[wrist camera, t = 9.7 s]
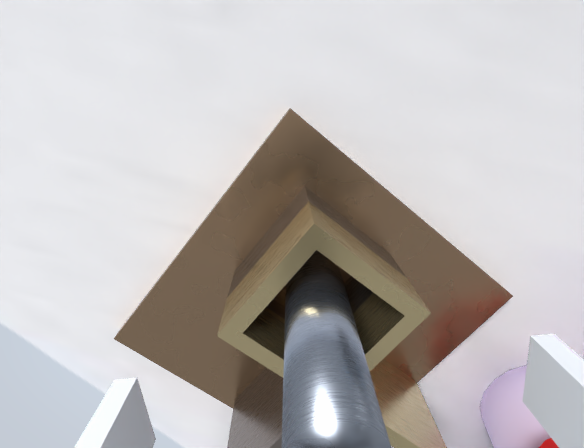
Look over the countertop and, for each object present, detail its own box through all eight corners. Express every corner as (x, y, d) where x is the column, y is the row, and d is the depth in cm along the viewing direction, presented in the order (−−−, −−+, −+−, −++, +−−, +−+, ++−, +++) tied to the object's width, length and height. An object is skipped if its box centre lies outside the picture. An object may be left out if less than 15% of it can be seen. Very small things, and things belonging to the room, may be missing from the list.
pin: (308, 227, 21) (331, 402, 9) (346, 257, 22) (417, 459, 10) (276, 264, 22) (258, 472, 10) (314, 292, 23) (342, 520, 10)
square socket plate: (289, 108, 20) (293, 114, 13) (504, 288, 24) (595, 367, 17) (120, 329, 25) (54, 424, 17) (325, 451, 29) (340, 568, 21)
